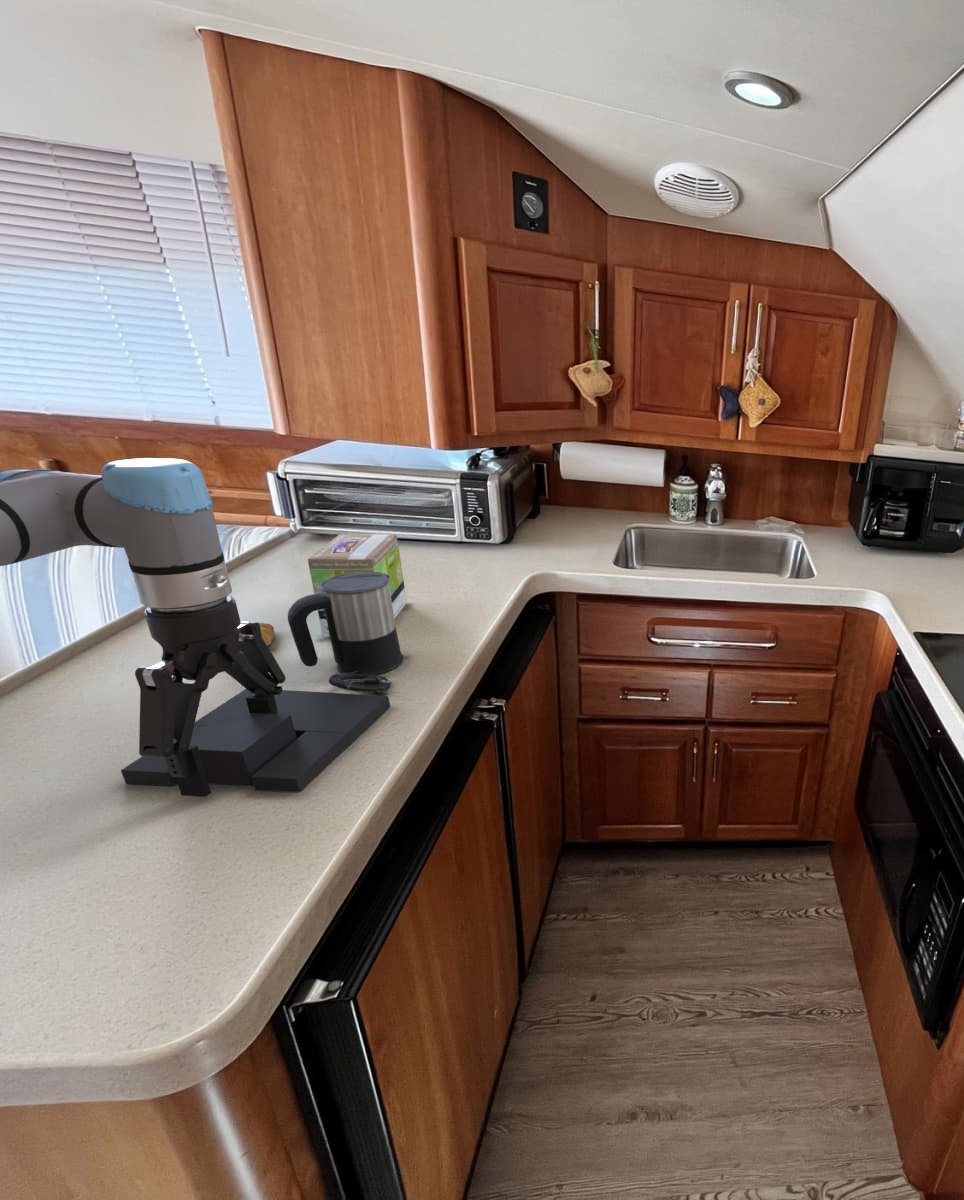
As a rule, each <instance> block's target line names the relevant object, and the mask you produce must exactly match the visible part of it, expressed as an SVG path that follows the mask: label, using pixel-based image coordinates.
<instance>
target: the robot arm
mask: <svg viewBox="0 0 964 1200" xmlns="http://www.w3.org/2000/svg"><path fill="white" fill-rule="evenodd" d="M80 546H91V547H92V546H93V547H106V548H119V549H120V548H121V549H122V548H123V549H124V552H125V555H126V557H127V560H128V566H129V569H130V570H131V574H132V577H133V581H134V584H135V589H136V591H137V594H138V598H139V602H140V604H141V605H142V606H145V609H144V610H143V613H144V617H145V621H146V624H147V627H148V630H149V633H150V636H151V638H152V639H153V640H154V641H155V642H156V643H157V644H158V645H160V647H161V649H162V655H161V661H159V662H157V663H156V664H154V665H152V666H149V667H148V666H139V667H137V668H136V670H135V671H134V676H135V679H136V681H137V683H138V686H139V691H140V692H139V738H138V739H139V741H138V743H139V745H138V753H139V755H140V757H142V756H147V757H164V759H165V762H166V765H167V768H168V771H169V774H170V775H171V776H172V777H176V780H177V783H176V784H177V786H178V788H179V792H180V795H181V796H182V797H197V798H198V797H199V798H207V797H208V796H209V795H212V790H211V787H210V784H209V783H208V780H207V777H206V773H205V770H204V767H203V763H202V760H201V757H200V753H199V750H198V747H197V746H191V745H190V741H191V736H192V732H193V728H194V724H195V722H196V719H197V715H198V710H199V707H200V706H199V705H200V702H201V697H202V694H203V692H205V691H207V690H208V688H209V683H210V681H211V680H212V679H214V678H215V677H217V675H219V674H220V673H224V672H225V673H226V674H228V675H229V676H230V677H231V678H232V679H234V681H236V682H237V683H239V684H240V685H241V686H242V687H244V688H245V689H247V690H249V691H250V692H251V693H255V696H253V695H250V696H249V697H247V698H246V701H247V705H248V709H249V713H265V714H277V710H278V709H277V706H276V701H275V697H274V695H279V694H281V693H282V690H283V687H282V685H279V684H284V683H285V682H286V675H285V673H284V672H283V670H282V668H281V667H280V665H279V664H278V661H277V660H276V658H275V657H274V655H273V653H272V651H271V650H270V648H269V646H267V645H266V643H265V642H264V640H263V638H262V634H261V629H260V625H259V623H260V622H258V623H257V621H243V620H241V617H240V614H239V613H240V612H239V609H238V606H237V602H236V598H235V597H234V596H233V595H230V594H231V593H232V592H233V589H232V584H231V580H230V576H229V572H228V569H227V565H226V561H225V555H224V552H223V549H222V545H221V540H220V536H219V532H218V527H217V523H216V517H215V512H214V508H213V498H212V496H211V495H210V493H209V490H208V488H207V484H206V482H205V479H204V475H203V473H202V471H201V469H200V468H199V467H198V465H196V464H195V463H193V462H191V461H189V460H185V459H180V458H171V457H170V458H169V457H167V458H165V457H163V458H154V457H139V458H127V459H120V460H119V459H118V460H114V461H110V462H108V463H106V464H104V466H102V468H101V475H100V474H89V473H77V472H66V471H62V470H52V469H48V468H35V469H8V470H5V471H0V567H4V566H9V565H13V564H17V563H21V562H25V561H27V560H28V561H29V560H32V559H35V558H39V557H43V556H46V555H50V554H52V553H56V552H59V551H62V550H67V549H71V548H74V547H80ZM237 646H238V647H239V649H240V650H241V652H242V653H243V654H242V653H241V652H240V651H239V650H238V648H237ZM183 680H187V681H194V682H192V683H189V682H184V681H183ZM173 738H174V739H176V741H173Z"/></svg>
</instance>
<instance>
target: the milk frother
mask: <svg viewBox="0 0 964 1200" xmlns="http://www.w3.org/2000/svg"><path fill="white" fill-rule="evenodd" d="M390 578H391V577H390V576H389V575H387V574H384V573H380V572H367V571H366V572H353V573H345V574H340V575H336V576H333V577H330V578H328V579H325V580H324V581H322V582H321V583H320V588H321V589H323V590H324V592H323V593H318V594H314V593H313V594H308V595H305V596H303V597H300V598H298V599H297V600H296V601H294V603H292V605H291V606H290V607H289V609H288V612H287V622H288V625H289V629H290V632H291V635H292V637H293V641H294V644H295V648H296V650H297V652H298V655H299V658H300V661H301V662H302V664H303V665H304V666H305V667H314V666H316V665H317V664H318V662H319V659H318V654H317V651H316V648H315V644H314V642H313V639H312V635H311V632H310V628H309V626H308V621H307V620H308V617H309V615H311V614H312V613H313V612H315V611H318V610H321V609H325V615H326V620H327V625H328V630H329V635H330V636H329V640H330V644H331V648H332V653H333V658H334V662H335V664H337V665H336V670H337V672H338V673H335V674H332V675H331V676H330V677H329V678H328V683H329V684H330V685H331V686H334V687H336V688H338V689H342V690H346V691H350V692H357V693H358V692H359V693H373V695H378V693H381V692H382V693H383V692H385V691H388V690H389V689H391V686H392V681H391V679H389V678H386V677H385V676H381V675H379V674H384V673H387V672H389V671H392V670H393V669H396V668H397V667H399V666H400V665H401V664H402V663H403V662H404V659H405V658H404V655H403V653H402V650H401V647H400V642H399V638H398V632H397V631H398V630H397V626H396V618H395V619H394V613H393V607H392V601H391V594H390V588H389V581H390ZM349 680H350V682H347V681H349Z"/></svg>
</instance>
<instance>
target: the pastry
mask: <svg viewBox="0 0 964 1200" xmlns="http://www.w3.org/2000/svg"><path fill="white" fill-rule="evenodd" d="M256 622H257V621H256ZM257 623H259V625H260V629H261V634H262V638H263V640H264V642H265V643H266V645H267V647H269V646H271V645H272V642H273V641H274V638H275V627H274V626H273V625H272V624H271V623H265V622H257ZM237 648H238V650H239V651H240V652H241V650H240V649H239V647H238V646H237ZM241 653H242V652H241ZM242 654H243V653H242Z"/></svg>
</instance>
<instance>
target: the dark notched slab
mask: <svg viewBox="0 0 964 1200" xmlns="http://www.w3.org/2000/svg"><path fill="white" fill-rule="evenodd" d="M250 695H253V696H255V693H251V692H250V691H249V690H247V689H246V688H245V689H243V690H242V691H240V692H238V693H237V694H236V695H234V696H233V697H231V698H229V699H228V700H226V701H225V702H223V703H222V704H220V705H219V706H217V707H215V708H214V709H213V710H211V711H209V712H208V713H206V714H205V715H204V716H203V715H202V716H201V717H200V718H199V719H197V720H195V724H194V728H193V732H192V734H194V733H195V732H197V731H198V730H200V729H201V728H203V727H204V726H206V725H207V724H209V723H210V722H212V721H213V720H215V719H216V718H218V717H219V716H221V715H222V714H224V713H225V712H227V711H228V712H246V713H249V709H248V705H247V701H246V698H247V697H249V696H250ZM274 697H275V701H276V706H277V709H278V710H277V714H283V715H291V718H292V722H293V725H294V729H295V733H296V737H297V739H296V740H295V741H294V742H293V743H291V744H290V745H289V746H288V747H287V748H285V749H284V750H283V751H282V752H281V753H279V754H278V755H277V756H276V757H275V758H273V759H272V760H271V761H270V762H268V763H267V764H266V765H265V766H264V767H262V768H261V769H260V770H259V771H258V772H256V773H255V774H254V775H253V776H251V778H252V781H253V788H254V790H255V791H263V792H266V791H267V792H284V793H285V792H287V793H288V792H289V793H301V792H303V790H305V789H306V788H307V787H308V786H309V785H310V784H311V783H312V782H313V781H314V780H315V779H316V778H318V776H319V775H320V774H321V773H322V772H323V771H325V769H327V768H328V767H329V766H330V765H331V764H332V763H333V762H334V761H335V760H336V759H337V758H338V757H339V756H340V755H342V754H343V753H344V752H345V751H346V750H347V749H348V748H349V747H350V746H351V745H352V744H353V743H354V742H355V741H356V740H357V739H359V738H360V736H362V735H363V734H364V733H365V732H366V731H367V730H368V729H369V728H370V727H371V726H372V725H373V724H375V722H376V721H378V720H379V719H380V718H381V717H382V716H383V715H384V714H385V713H386V712H387V711H388V710H389V709H390V708H391V701H390V697H389V695H381V694H380V695H379V694H361V693H344V692H343V693H342V692H325V691H308V690H307V691H306V690H291V689H289V690H286V689H282V693H281V694H279V695H274ZM173 741H176V739H174V738H173ZM120 772H121V775H122V778H123V780H124V783H125V784H126V785H139V786H140V785H141V786H161V787H173V786H174V785H176V784H178V783H177V780H176V777H172V776H171V775H170V774H169V771H168V768H167V765H166V762H165V759H164V757H147V756H140V757H138V758H137V759H136V760H134V761H133V762H131V763H129V764H128V765H127V766H125V767H124V768H122V769H120Z"/></svg>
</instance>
